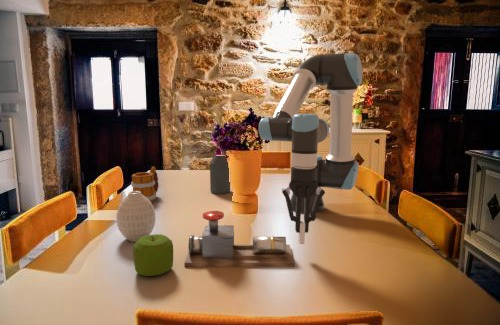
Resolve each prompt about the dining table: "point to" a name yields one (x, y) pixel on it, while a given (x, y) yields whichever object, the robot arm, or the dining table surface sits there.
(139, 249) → the apple
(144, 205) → the vase
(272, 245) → the pipe
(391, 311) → the dining table surface
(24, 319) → the dining table surface
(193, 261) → the board
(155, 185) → the mug
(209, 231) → the gate valve
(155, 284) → the dining table surface
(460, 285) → the dining table surface
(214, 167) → the bottle
